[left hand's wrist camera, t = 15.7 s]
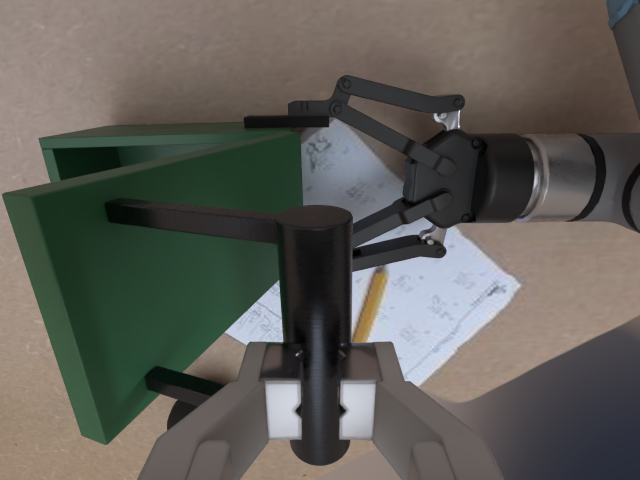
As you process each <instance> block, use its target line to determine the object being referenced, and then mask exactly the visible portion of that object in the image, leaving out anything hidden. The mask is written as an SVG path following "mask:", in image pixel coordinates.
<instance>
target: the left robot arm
mask: <svg viewBox="0 0 640 480" xmlns="http://www.w3.org/2000/svg"><path fill="white" fill-rule="evenodd" d="M303 367H304V343H299V342H249V343H248V345H247V348H246V351H245V354H244V358H243V361H242V364H241V368H240V371H239V374H238V378H237V381H231V382H230V383H228V384H227V385H226V386H224V387H223V388H222V389H221V390H219V391H218V392H217V393H215V394H214V395H213V396H212V397H210V398H209V399H208V400H206V401H205V402H204V403H202V404H201V405H200V406H199V407H197V408H196V409H195V410H193V411H192V412H191V413H190V414H188V415H187V416H186V417H184V418H183V419H182V420H181V421H179V422H178V423H177V424H175V425H174V426H173V427H172V428H170V429H169V430H168V431H166V432H165V433H164V434H162V435H161V436H160V437H159V438H157V440H156V442H155V444H154V446H153V448H152V450H151V452H150V454H149V456H148V458H147V460H146V462H145V465H144V467H143V469H142V471H141V473H140V475H139V477H138V479H137V480H240V478H241V477H242V476H243V474H244V473H245V472H246V471H247V469H248V468H249V467H250V465H251V464H252V463H253V461H254V460H255V459H256V458H257V456H258V455H259V454H260V452H261V451H262V450H263V449H264V447H265V446H266V445H267V443H268V440H298V439H302V426H303V405H304V369H303ZM337 405H338V426H339V439H342V440H373V443H374V444H375V445H376V447H377V448H378V449H379V451H380V452H381V453H382V455H383V456H384V457H385V458H386V460H387V461H388V462H389V464H390V465H391V466H392V467H393V469H394V470H395V471H396V473H397V474H398V475H399V477H400V478H401V479H402V480H504V478H503V476H502V474H501V472H500V470H499V468H498V466H497V463H496V461H495V459H494V457H493V455H492V453H491V451H490V449H489V447H488V445H487V443H486V441H485V439H484V438H482V437H481V436H480V435H479V434H477V433H476V432H475V431H473V430H472V429H471V428H470V427H468V426H467V425H466V424H464V423H463V422H462V421H461V420H459V419H458V418H457V417H455V416H454V415H453V414H452V413H450V412H449V411H448V410H446V409H445V408H444V407H442V406H441V405H440V404H439V403H437V402H436V401H435V400H433V399H432V398H431V397H430V396H428V395H427V394H426V393H424V392H423V391H422V390H421V389H419V388H418V387H417V386H415V385H414V384H413V383H412V382H410V381H404V377H403V374H402V371H401V368H400V364H399V361H398V358H397V355H396V351H395V348H394V345H393V343H392V342H373V343H337Z"/></svg>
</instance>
